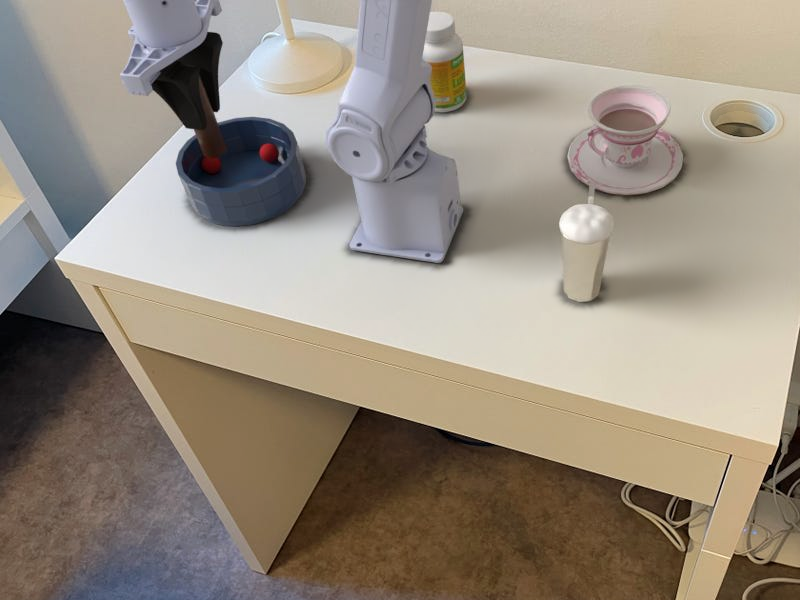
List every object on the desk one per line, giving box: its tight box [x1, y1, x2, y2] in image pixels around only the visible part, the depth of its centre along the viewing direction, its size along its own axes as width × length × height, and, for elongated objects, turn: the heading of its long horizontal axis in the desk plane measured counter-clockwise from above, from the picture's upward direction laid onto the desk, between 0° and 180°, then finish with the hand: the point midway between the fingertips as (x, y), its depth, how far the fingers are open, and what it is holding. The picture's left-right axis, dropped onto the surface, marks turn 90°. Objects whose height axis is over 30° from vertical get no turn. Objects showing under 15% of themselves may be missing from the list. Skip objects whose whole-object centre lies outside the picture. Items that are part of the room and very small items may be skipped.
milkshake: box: [558, 182, 615, 303], centre depth 71 cm, size 4×5×10 cm
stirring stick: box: [186, 65, 227, 158], centre depth 80 cm, size 2×2×9 cm
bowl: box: [175, 116, 307, 227], centre depth 85 cm, size 12×12×4 cm
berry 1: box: [202, 157, 221, 174], centre depth 87 cm, size 2×2×2 cm
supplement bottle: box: [422, 11, 467, 113], centre depth 91 cm, size 5×5×10 cm
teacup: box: [566, 85, 684, 196], centre depth 84 cm, size 12×12×6 cm
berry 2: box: [260, 143, 279, 163], centre depth 87 cm, size 2×2×2 cm
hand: (203, 118), depth 81 cm, fingers closed on stirring stick, 2 cm apart
